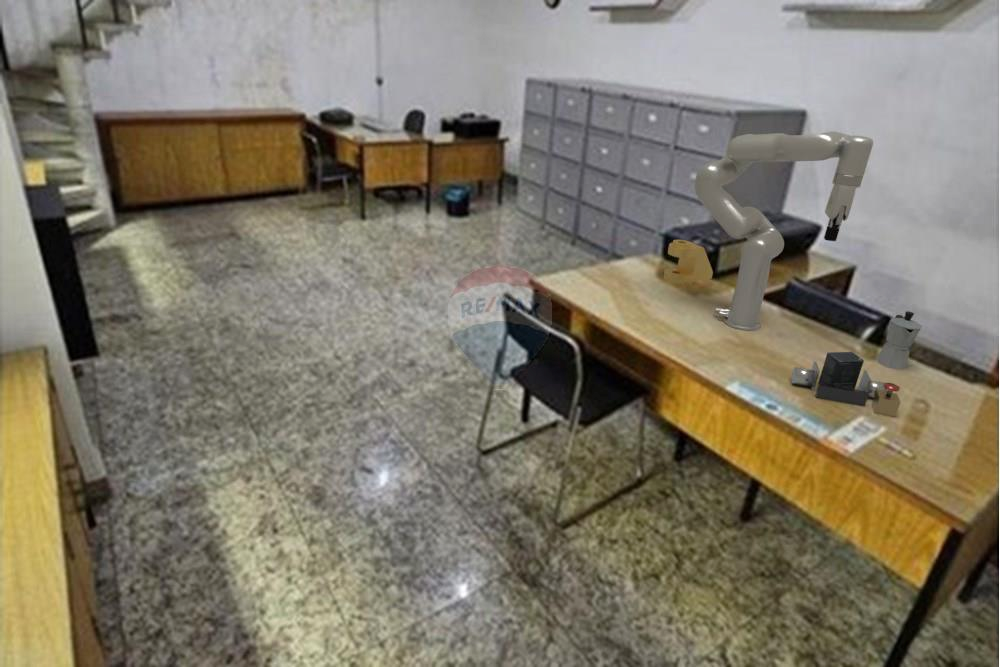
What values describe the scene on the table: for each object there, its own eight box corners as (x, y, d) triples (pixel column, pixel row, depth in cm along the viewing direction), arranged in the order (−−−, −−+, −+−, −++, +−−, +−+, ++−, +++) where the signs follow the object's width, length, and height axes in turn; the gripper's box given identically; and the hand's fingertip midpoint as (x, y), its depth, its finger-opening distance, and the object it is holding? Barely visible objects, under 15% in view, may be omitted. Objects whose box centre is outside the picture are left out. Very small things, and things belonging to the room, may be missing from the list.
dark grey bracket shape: (794, 393, 178) (800, 373, 175) (789, 377, 187) (795, 358, 184) (887, 411, 172) (894, 390, 170) (878, 393, 181) (885, 373, 178)
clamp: (673, 285, 252) (680, 246, 245) (658, 277, 259) (665, 239, 252) (711, 280, 260) (719, 242, 253) (695, 272, 267) (703, 235, 261)
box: (841, 383, 185) (852, 351, 181) (853, 393, 180) (865, 360, 176) (816, 383, 184) (827, 351, 180) (828, 394, 179) (839, 361, 175)
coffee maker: (911, 377, 192) (932, 323, 184) (879, 371, 194) (899, 317, 186) (899, 356, 205) (918, 304, 197) (869, 351, 207) (887, 300, 199)
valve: (873, 413, 171) (883, 388, 167) (870, 404, 175) (880, 379, 172) (894, 418, 169) (904, 392, 166) (891, 409, 174) (900, 383, 170)
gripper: (829, 173, 194) (813, 232, 202) (838, 183, 181) (820, 245, 189) (856, 176, 192) (838, 235, 200) (866, 186, 179) (847, 248, 187)
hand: (829, 239), depth 195 cm, fingers closed
